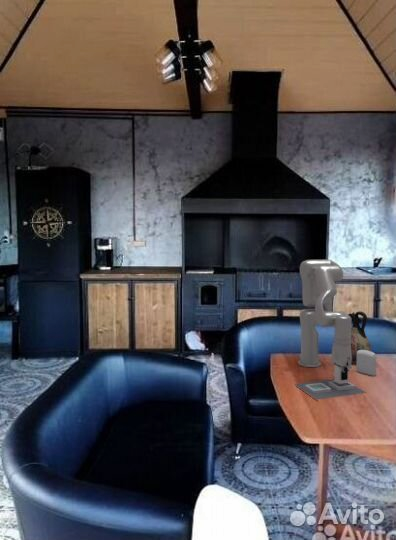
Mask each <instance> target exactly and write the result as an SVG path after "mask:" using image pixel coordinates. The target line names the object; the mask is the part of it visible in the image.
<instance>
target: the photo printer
mask: <svg viewBox="0 0 396 540" xmlns="http://www.w3.org/2000/svg"><path fill="white" fill-rule="evenodd" d="M355 365H356V367H355V368H356V373H359V374H364V375H368V376H373V377H374V376H376V375H377V354H376V353H375V352H373V351H368V350H359V351H357V361H356V363H355Z"/></svg>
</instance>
